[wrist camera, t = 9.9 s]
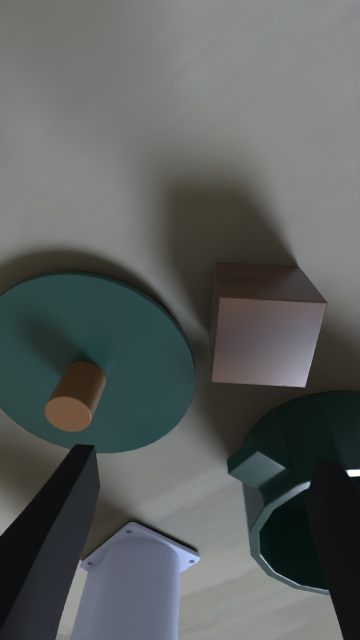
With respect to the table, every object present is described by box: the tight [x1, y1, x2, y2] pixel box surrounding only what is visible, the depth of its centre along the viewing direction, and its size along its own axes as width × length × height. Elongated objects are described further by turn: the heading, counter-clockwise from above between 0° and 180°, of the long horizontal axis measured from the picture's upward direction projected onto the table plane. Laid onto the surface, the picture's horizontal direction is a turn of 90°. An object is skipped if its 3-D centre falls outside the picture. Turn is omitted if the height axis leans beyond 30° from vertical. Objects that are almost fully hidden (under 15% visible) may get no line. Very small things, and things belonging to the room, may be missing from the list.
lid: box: [0, 271, 195, 453], centre depth 20 cm, size 14×14×4 cm
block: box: [209, 263, 327, 387], centre depth 17 cm, size 5×5×5 cm
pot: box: [227, 391, 360, 595], centre depth 22 cm, size 13×18×6 cm
